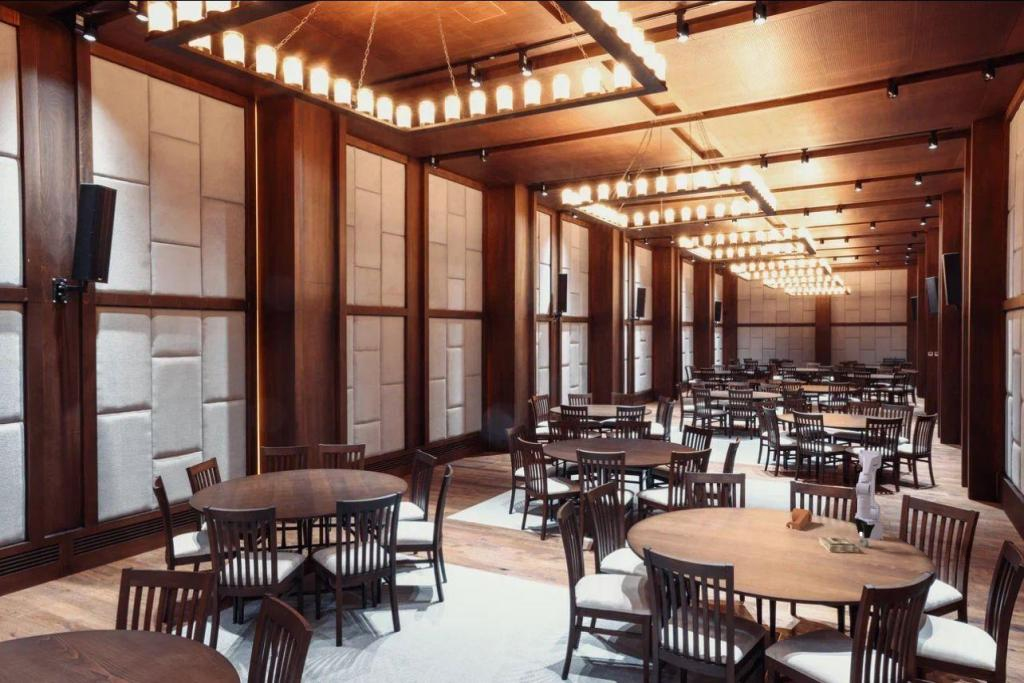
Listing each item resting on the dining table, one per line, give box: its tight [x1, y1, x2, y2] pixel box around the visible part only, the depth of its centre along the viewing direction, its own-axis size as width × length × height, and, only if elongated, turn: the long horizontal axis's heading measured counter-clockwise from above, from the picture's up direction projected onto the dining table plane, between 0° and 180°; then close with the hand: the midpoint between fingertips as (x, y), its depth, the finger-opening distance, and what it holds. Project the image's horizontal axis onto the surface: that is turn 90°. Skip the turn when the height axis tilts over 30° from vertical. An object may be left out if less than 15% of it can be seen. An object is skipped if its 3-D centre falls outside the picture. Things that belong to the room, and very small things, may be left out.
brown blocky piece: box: [785, 507, 813, 531], centre depth 371 cm, size 20×8×8 cm, turn 139°
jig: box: [818, 536, 859, 554], centre depth 331 cm, size 13×14×4 cm
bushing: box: [858, 531, 870, 549], centre depth 333 cm, size 4×4×7 cm
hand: (863, 535), depth 333 cm, fingers open, 7 cm apart
